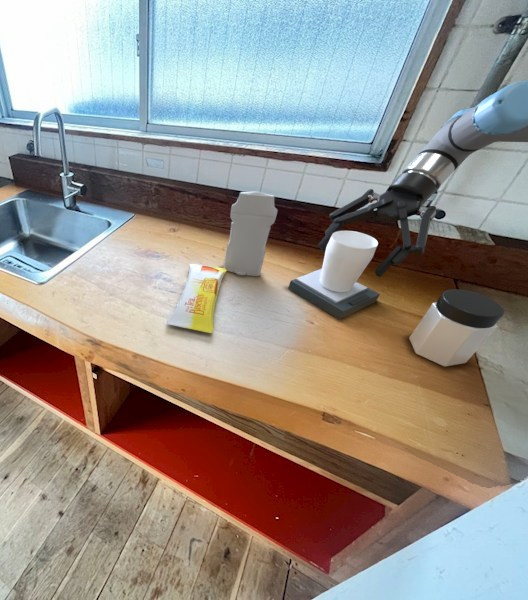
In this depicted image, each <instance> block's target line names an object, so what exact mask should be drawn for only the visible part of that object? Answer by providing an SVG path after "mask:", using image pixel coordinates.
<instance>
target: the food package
mask: <svg viewBox="0 0 528 600" xmlns="http://www.w3.org/2000/svg"><path fill="white" fill-rule="evenodd" d="M227 272H228V271H227V270H226V269H224V268H223V267H217V266H211V265H202V264H197V263H190V264H189V272H188V275H187V279H186V282H185V285H184V288H183V290H182V293H181V295H180V298H179V300H178V302H177V304H176V307H175V308H174V311H173V312H172V314H170V316H169V317H168V319H167V321H166V325H167V326H173V327H178V328H184V329H188V330H192V331H199V332H201V333H202V332H204V333H207V334H212V333H213V332H214V314H215V307H216V302H217V298H218V294H219V289H220V287H221V283H222V280H223V278H224V275H225V274H226V273H227Z"/></svg>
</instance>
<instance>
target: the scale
mask: <svg viewBox="0 0 528 600" xmlns="http://www.w3.org/2000/svg"><path fill="white" fill-rule="evenodd" d="M321 272H322V268H320V269H317V270H314V271H311V272H310V273H307V274H304V275H301V276H298V277H296V278H294V279H291V280H290V282H289V285H288V289H289V290H290V291H292V292H293V293H295V294H296V295H299V296H300V297H302V298H303V299H305V300H307V301H308V302H310V303H311V304H313V305H315V306H316V307H318V308H319V309H321V310H322V311H324V312H326V313H328V314H330V315H331V316H333V317H334V318H337V319H338V320H341V319H344V318H346V317H347V316H350V315H352V314H354V313H356V312H358V311H360V310H362V309H364V308H367V307H369V306H371V305H373V304H375V303H376V302H377V300H378V298H379V297H380V295H381V293H379V292H377V291H376V290H374V289H371V288H369V287H367V286H366V285H363V284H361V283H359V282H357V281H356V282H355V284H354V285H353V287H352V288H351V290H349V291H347V292H334V291H331V290H328V289H326V288H325V287H323V286H322V285H321V284H320V277H321Z"/></svg>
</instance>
